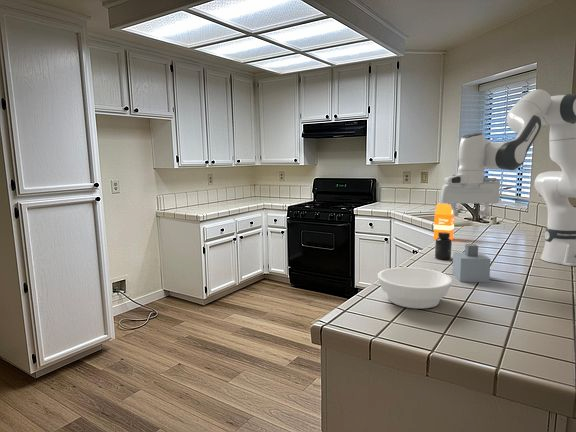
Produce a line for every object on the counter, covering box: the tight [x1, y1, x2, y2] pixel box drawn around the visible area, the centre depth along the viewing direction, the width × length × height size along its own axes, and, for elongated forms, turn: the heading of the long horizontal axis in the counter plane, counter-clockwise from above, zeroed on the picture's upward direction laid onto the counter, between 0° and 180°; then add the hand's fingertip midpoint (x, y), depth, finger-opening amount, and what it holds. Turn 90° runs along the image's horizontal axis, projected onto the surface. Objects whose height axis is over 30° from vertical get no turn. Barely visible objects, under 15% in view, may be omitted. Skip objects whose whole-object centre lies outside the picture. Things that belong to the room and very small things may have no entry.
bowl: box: [377, 266, 453, 309], centre depth 126 cm, size 22×22×8 cm
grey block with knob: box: [451, 243, 491, 283], centre depth 149 cm, size 10×10×13 cm
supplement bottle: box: [434, 232, 453, 261], centre depth 179 cm, size 7×7×12 cm
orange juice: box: [433, 203, 455, 241], centre depth 222 cm, size 8×9×20 cm
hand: (468, 215), depth 147 cm, fingers open, 8 cm apart
